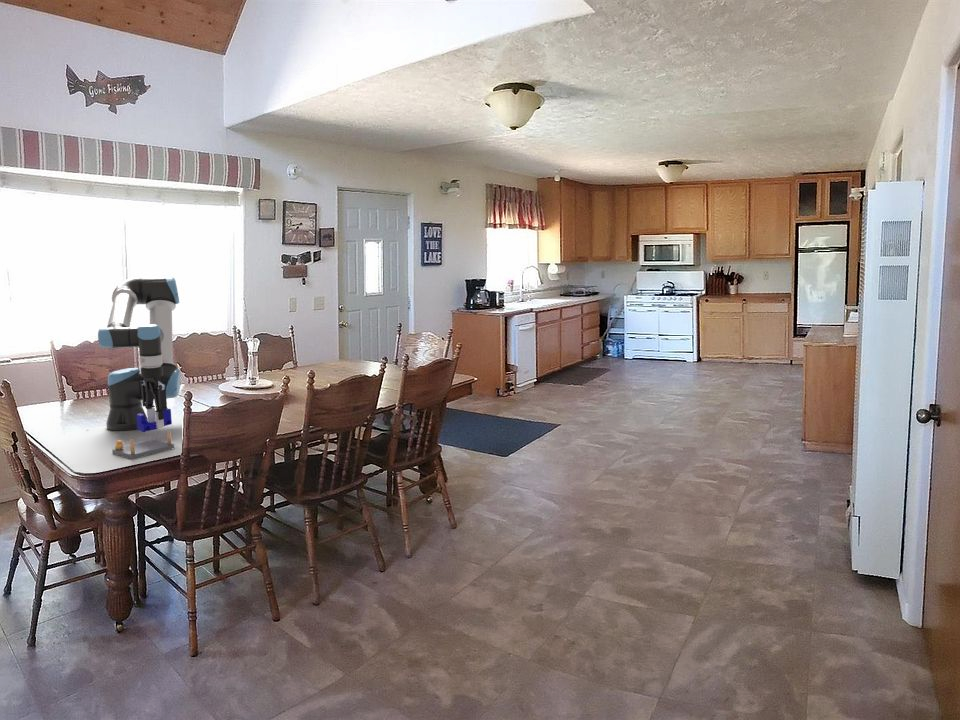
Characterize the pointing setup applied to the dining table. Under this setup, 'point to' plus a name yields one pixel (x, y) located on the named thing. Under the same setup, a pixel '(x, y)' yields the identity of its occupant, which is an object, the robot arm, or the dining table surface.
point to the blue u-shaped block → (147, 426)
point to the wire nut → (119, 445)
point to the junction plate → (144, 448)
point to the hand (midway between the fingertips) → (156, 426)
